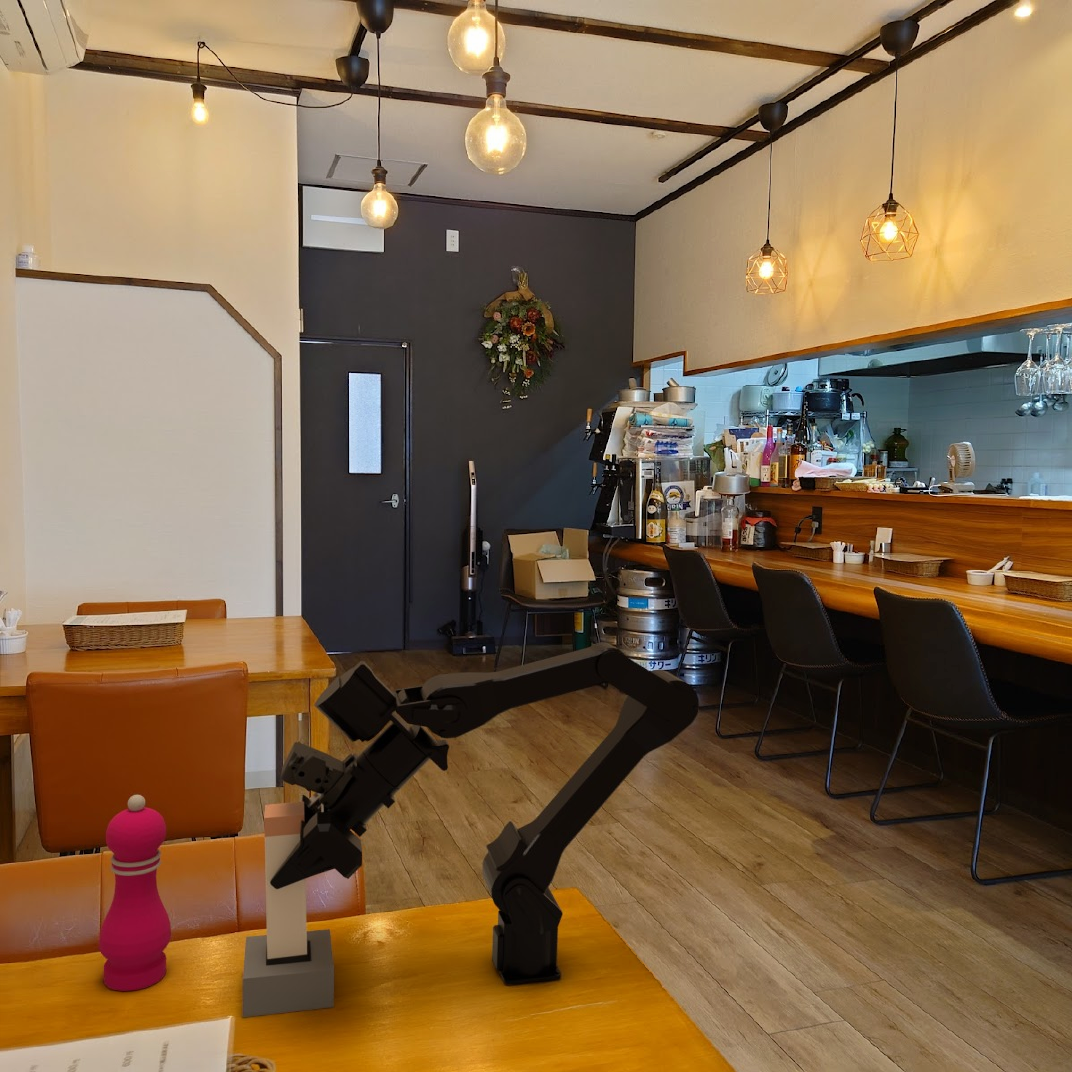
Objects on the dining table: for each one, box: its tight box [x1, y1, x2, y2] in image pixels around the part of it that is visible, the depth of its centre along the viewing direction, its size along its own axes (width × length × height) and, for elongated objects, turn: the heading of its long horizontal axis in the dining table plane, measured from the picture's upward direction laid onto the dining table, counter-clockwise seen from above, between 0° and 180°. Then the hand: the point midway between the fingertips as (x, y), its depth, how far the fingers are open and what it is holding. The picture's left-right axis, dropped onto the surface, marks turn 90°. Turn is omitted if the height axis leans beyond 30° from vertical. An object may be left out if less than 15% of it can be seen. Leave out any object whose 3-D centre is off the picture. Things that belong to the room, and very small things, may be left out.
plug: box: [263, 801, 307, 959], centre depth 100 cm, size 4×4×15 cm
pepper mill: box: [98, 794, 172, 992], centre depth 102 cm, size 7×7×20 cm
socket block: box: [241, 928, 335, 1018], centre depth 101 cm, size 9×9×4 cm
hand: (273, 877), depth 100 cm, fingers closed on plug, 4 cm apart
